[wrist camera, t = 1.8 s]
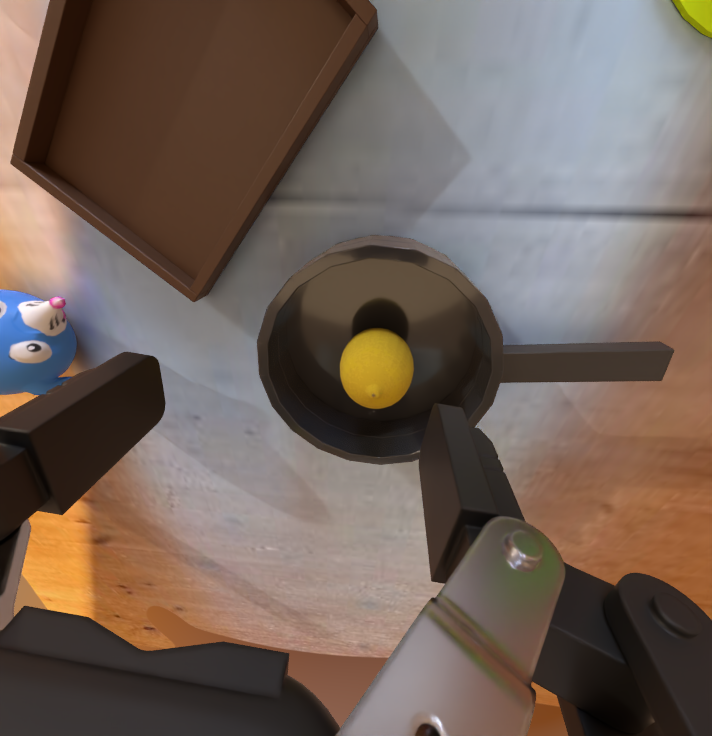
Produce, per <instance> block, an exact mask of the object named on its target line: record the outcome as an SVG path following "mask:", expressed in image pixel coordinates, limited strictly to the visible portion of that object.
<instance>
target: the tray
mask: <svg viewBox="0 0 712 736" xmlns="http://www.w3.org/2000/svg"><path fill="white" fill-rule="evenodd" d="M377 29H378V19H377V10H376V8H375V7H374V6H373V5H372V4H371V2H370V1H369V0H50V2H49V6H48V10H47V14H46V18H45V22H44V26H43V30H42V35H41V39H40V43H39V47H38V51H37V55H36V59H35V63H34V67H33V71H32V75H31V80H30V84H29V88H28V92H27V96H26V100H25V104H24V108H23V112H22V116H21V120H20V125H19V129H18V133H17V137H16V141H15V145H14V149H13V155H12V159H11V164H12V165H13V166H14V167H16V168H17V169H18V170H20V171H21V172H22V173H23V174H25V175H26V176H27V177H29V178H30V179H31V180H33V181H34V182H35V183H37V184H38V185H39V186H41V187H42V188H43V189H45V190H46V191H47V192H49V193H50V194H51V195H53V196H54V197H55V198H57V199H58V200H59V201H60V202H62V203H63V204H64V205H66V206H67V207H68V208H70V209H71V210H72V211H74V212H75V213H76V214H78V215H79V216H80V217H82V218H83V219H84V220H86V221H87V222H88V223H90V224H91V225H92V226H93V227H95V228H96V229H97V230H99V231H100V232H101V233H103V234H104V235H105V236H107V237H108V238H109V239H111V240H112V241H113V242H115V243H116V244H117V245H119V246H120V247H121V248H123V249H124V250H125V251H127V252H128V253H129V254H130V255H132V256H133V257H134V258H136V259H137V260H138V261H140V262H141V263H142V264H144V265H145V266H146V267H148V268H149V269H150V270H152V271H153V272H154V273H156V274H157V275H158V276H160V277H161V278H162V279H164V280H165V281H166V282H167V283H169V284H170V285H171V286H173V287H174V288H175V289H177V290H178V291H179V292H181V293H182V294H183V295H185V296H186V297H187V298H189V299H190V300H191V301H193V302H196V301H197V300H199V299H201V298H203V297H205V296H206V295H208V293H209V292H210V290H211V288H212V287H213V285H214V284H215V282H216V281H217V279H218V277H219V276H220V274H221V273H222V271H223V270H224V268H225V267H226V265H227V263H228V262H229V260H230V259H231V257H232V256H233V254H234V252H235V251H236V249H237V248H238V246H239V245H240V243H241V242H242V240H243V238H244V237H245V235H246V234H247V232H248V231H249V229H250V227H251V226H252V224H253V223H254V221H255V220H256V218H257V217H258V215H259V213H260V212H261V210H262V209H263V207H264V206H265V204H266V202H267V201H268V199H269V198H270V196H271V195H272V193H273V192H274V190H275V188H276V187H277V185H278V184H279V182H280V181H281V179H282V177H283V176H284V174H285V173H286V171H287V170H288V168H289V167H290V165H291V163H292V162H293V160H294V159H295V157H296V156H297V154H298V152H299V151H300V149H301V148H302V146H303V145H304V143H305V142H306V140H307V138H308V137H309V135H310V134H311V132H312V131H313V129H314V127H315V126H316V124H317V123H318V121H319V120H320V118H321V117H322V115H323V113H324V112H325V110H326V109H327V107H328V106H329V104H330V102H331V101H332V99H333V98H334V96H335V95H336V93H337V92H338V90H339V88H340V87H341V85H342V84H343V82H344V81H345V79H346V77H347V76H348V74H349V73H350V71H351V70H352V68H353V67H354V65H355V63H356V62H357V60H358V59H359V57H360V56H361V54H362V52H363V51H364V49H365V48H366V46H367V45H368V43H369V42H370V40H371V38H372V37H373V35H374V34H375V32H376V31H377Z"/></svg>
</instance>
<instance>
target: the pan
mask: <svg viewBox="0 0 712 736" xmlns="http://www.w3.org/2000/svg"><path fill="white" fill-rule="evenodd" d="M371 328H383V329H388V330H390V331H392V332H395V333H396V334H398V335H399V336H400V337H401V338H402V339H403V340H404V341H405V342H406V344H407V345H408V347H409V349H410V351H411V354H412V357H413V365H414V372H413V377H412V381H411V384H410V386H409V388H408V390H407V392H406V393H405V395H404V396H403V397H402V398H401V399H400V400H399V401H398V402H396V403H395V404H393V405H391V406H388V407H385V408H380V409H373V408H367V407H364V406H361V405H360V404H358V403H356V402H355V401H354V400H353V399H351V398H350V397H349V395H348V394H347V392H346V391H345V389H344V387H343V384H342V381H341V377H340V361H341V357H342V353H343V351H344V349H345V347H346V346H347V344H348V342H349V341H350V340H351V339H352V338H353V337H354V336H355V335H357V334H358V333H360V332H362V331H364V330H367V329H371ZM257 349H258V365H259V375H260V378H261V381H262V383H263V386H264V388H265V390H266V393H267V395H268V398H269V400H270V403H271V405H272V407H273V408H274V409H275V410H276V412H277V413H278V414H279V415H280V416H281V418H282V419H283V420H284V421H285V422H286V424H287V425H288V426H289V427H290V429H291V430H292V431H294V432H295V433H297V434H298V435H299V436H301V437H302V438H304V439H305V440H306V441H308V442H309V443H311V444H312V445H314V446H315V447H316V448H318V449H320V450H323V451H326V452H328V453H331V454H333V455H336V456H338V457H341V458H344V459H346V460H349V461H357V462H364V463H372V464H379V465H380V464H381V465H383V464H393V463H403V462H413V461H415V460H418V459H419V455H420V449H421V444H422V441H423V438H424V434H425V431H426V427H427V424H428V420H429V417H430V414H431V410H432V408H433V405H434V404H435V403H437V404H443V405H449V406H455V407H461V408H463V410H464V413H465V415H466V418H467V421H468V424H469V427H475V426H476V425H477V423H478V422H479V421H480V420H481V418H482V417H483V416H484V415H485V413H486V412H487V411H488V409H489V408H490V407H491V406H492V404H493V402H494V399H495V396H496V393H497V390H498V387H499V384H500V381H501V379H502V376H503V373H504V372H503V371H504V363H503V336H502V332H501V330H500V328H499V325H498V323H497V321H496V319H495V316H494V314H493V312H492V309H491V307H490V305H489V302H488V300H487V299H486V297H485V296H484V295H483V294H482V293H481V292H480V290H479V289H478V288H477V287H476V286H475V285H474V283H473V282H472V281H471V280H470V279H469V278H468V277H467V276H466V275H465V274H464V273H463V272H462V271H461V270H460V269H459V268H458V267H457V266H456V265H455V264H454V263H453V262H452V261H451V260H450V259H449V258H448V257H447V256H446V255H445V254H443V253H441V252H439V251H437V250H435V249H433V248H431V247H429V246H427V245H425V244H422V243H420V242H418V241H416V240H414V239H410V238H402V237H395V236H381V235H370V236H366V237H360V238H356V239H352V240H349V241H345V242H341V243H338V244H336V245H334V246H332V247H331V248H329V249H328V250H326V251H325V252H323V253H322V254H320V255H318V256H317V257H315V258H314V259H312V260H311V261H309V262H308V263H307V264H305V265H304V266H303V267H302V268H301V269H299V270H298V271H297V272H296V273H295V274H294V275H292V276H291V277H290V278H289V280H288V281H287V282H286V283H285V285H284V286H283V287H282V289H281V290H280V291H279V293H278V294H277V295H276V297H275V298H274V299H273V301H272V302H271V303H270V305H269V306H268V308H267V309H266V313H265V316H264V320H263V323H262V326H261V330H260V333H259V336H258V340H257Z"/></svg>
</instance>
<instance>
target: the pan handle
mask: <svg viewBox="0 0 712 736" xmlns="http://www.w3.org/2000/svg"><path fill="white" fill-rule="evenodd" d="M673 353H674V349H672V348H671V347H669V346H667V345H665V344H664V343H662V342H621V343H579V344H537V345H503V363H504V371H503V372H504V373H503V376H502V379H501V381H500V383H511V382H602V381H662V379H663V377H664V374H665V372H666V370H667V367H668V365H669V362H670V360H671V358H672V355H673Z"/></svg>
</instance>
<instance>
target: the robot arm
mask: <svg viewBox="0 0 712 736" xmlns="http://www.w3.org/2000/svg"><path fill="white" fill-rule="evenodd" d="M164 410H165V397H164V391H163V384H162V378H161V372H160V366H159V362H158V360H157V359H156V358H155V357H154V356H149V355H143V354H137V353H131V352H123V353H121V354H119V355H117V356H115V357H114V358H112V359H110V360H108V361H107V362H105V363H103V364H101V365H100V366H98V367H96V368H93V369H90V370H87V371H84V372H81V373H79V374H77V375H75V376H74V377H72V378H70V379H68V380H66V381H65V382H63V383H62V385H61V386H60V385H57V386H56V387H54V388H52V389H50V390H48V391H47V392H46V394H41V395H40V396H38V397H36V398H34V399H32V400H31V401H29V402H27V403H25V404H23V405H22V406H20V407H18V408H16V409H14V410H13V411H11V412H9V413H7V414H6V415H4V416H2V417H0V736H527V733H528V729H529V726H530V723H531V719H532V715H533V711H534V707H535V701H536V692H535V690H534V689H533V688H532V687H531V682H532V681H533V682H534V683H536V684H538V685H540V686H541V687H543V688H545V689H546V690H548V691H550V692H552V693H553V694H555V695H557V698H558V701H559V705H560V708H561V711H562V715H563V718H564V722H565V725H566V728H567V732H568V735H569V736H712V620H711V619H710V618H709V617H708V616H707V615H706V614H705V613H704V611H702V610H701V609H700V608H699V607H698V606H697V605H696V604H695V603H694V602H693V601H692V600H690V599H689V598H688V597H687V596H685V595H684V594H683V593H681V592H680V591H678V590H677V589H675V588H674V587H672V586H671V585H669V584H667V583H665V582H663V581H661V580H660V579H657V578H655V577H652V576H649V575H646V574H641V573H630V574H627V575H625V576H624V577H622V579H621V580H620V581H619V582H618V583H617V584H616V585H615V586H614V585H612V584H610V583H607V582H605V581H603V580H601V579H599V578H596V577H594V576H592V575H590V574H587V573H585V572H583V571H581V570H579V569H576V568H574V567H572V566H570V565H568V564H566V563H565V562H563V560H562V557H561V555H560V553H559V552H558V550H557V548H556V547H555V546H554V545H553V543H552V542H551V541H550V540H549V539H548V538H547V537H546V536H545V535H544V534H543V533H542V532H540V531H539V530H538V529H536V528H535V527H533V526H532V525H530V524H528V523H526V522H525V519H524V517H523V515H522V512H521V510H520V508H519V505H518V503H517V500H516V498H515V496H514V493H513V491H512V489H511V486H510V484H509V481H508V479H507V477H506V474H505V473H504V472H503V467H502V465H501V462H500V460H498V455H497V453H496V451H495V448H494V446H493V443H492V442H491V441H490V439H489V438H488V437H487V436H486V435H485V434H484V433H483V432H482V431H481V430H480V429H479V428H474V427H469V424H468V421H467V418H466V415H465V413H464V410H463V408H461V407H455V406H449V405H443V404H437V403H435V404H434V405H433V408H432V410H431V414H430V417H429V420H428V424H427V427H426V431H425V434H424V438H423V441H422V444H421V449H420V455H419V472H420V481H421V490H422V499H423V508H424V518H425V527H426V536H427V545H428V554H429V564H430V573H431V581H433V582H438V583H444V584H445V585H444V587H443V588H442V590H441V591H440V592H439V594H438V595H437V596H436V598H431V599H430V600H429V601H428V603H427V604H426V605H425V607H424V608H423V609H422V611H421V612H420V614H419V615H418V616H417V618H416V619H415V621H414V622H413V624H412V625H411V627H410V628H409V630H408V631H407V632H406V634H405V635H404V637H403V638H402V640H401V641H400V643H399V644H398V646H397V647H396V648H395V650H394V651H393V653H392V654H391V656H390V657H389V659H388V660H387V661H386V663H385V665H384V666H383V667H382V669H381V670H380V672H379V673H378V675H377V676H376V678H375V679H374V680H373V682H372V683H371V685H370V686H369V688H368V689H367V691H366V692H365V693H364V695H363V696H362V698H361V699H360V701H359V702H358V704H357V705H356V707H355V708H354V710H353V711H352V712H351V714H350V715H349V717H348V718H347V720H346V721H345V722H344V724H343V725H342V727H341V728H340V727H339V725H338V724H337V723H336V721H335V720H334V718H333V717H332V715H331V714H330V712H329V711H328V709H327V708H326V707H325V706H324V705H323V704H322V702H321V701H320V700H319V699H318V698H317V697H316V696H315V695H314V694H313V693H312V692H311V691H310V690H308V689H307V688H306V687H305V686H304V685H303V684H301V683H300V682H298V681H296V680H295V679H293V678H292V677H290V676H288V675H287V673H288V662H289V653H284V652H278V651H273V650H267V649H261V648H256V647H250V646H245V645H239V644H234V643H227V642H217V643H209V644H201V645H193V646H186V647H178V648H170V649H162V650H154V651H144V650H140V649H138V648H136V647H135V646H133V645H132V644H130V643H129V642H127V641H125V640H124V639H122V638H121V637H119V636H117V635H116V634H114V633H113V632H111V631H110V630H108V629H106V628H105V627H103V626H102V625H100V624H98V623H97V622H95V621H94V620H92V619H91V618H89V617H84V616H79V615H73V614H68V613H62V612H57V611H51V610H45V609H40V608H34V607H29V606H24V607H23V608H22V609H21V610H20V611H19V612H18V613H17V614H16V616H15V617H14V603H15V599H16V594H17V590H18V585H19V581H20V576H21V572H22V568H23V563H24V559H25V554H26V550H27V545H28V541H29V536H30V532H31V525H30V522H29V520H28V518H29V517H30V516H31V515H33V514H34V513H35V512H36V511H42V512H48V513H53V514H59V515H63V514H64V513H65V512H66V511H67V510H68V509H69V508H70V507H71V506H72V505H73V504H74V503H75V502H76V501H77V500H78V499H80V498H81V497H82V496H83V495H84V494H85V493H86V492H87V491H88V490H89V489H90V488H91V487H92V486H93V485H94V484H95V483H96V482H97V481H98V480H99V479H100V478H101V477H102V476H103V475H104V474H105V473H107V472H108V471H109V470H110V469H111V468H112V467H113V466H114V465H115V464H116V463H117V462H118V461H119V460H120V459H121V458H122V457H123V456H124V455H125V454H126V453H127V452H128V451H129V450H130V449H131V448H133V447H134V446H135V445H136V444H137V443H138V442H139V441H140V440H141V439H142V438H143V437H144V436H145V435H146V434H147V433H148V432H149V431H150V430H151V429H152V428H153V427H154V426H155V425H156V424H157V423H158V422H159V421H160V420H161V418H162V416H163V413H164Z"/></svg>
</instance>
